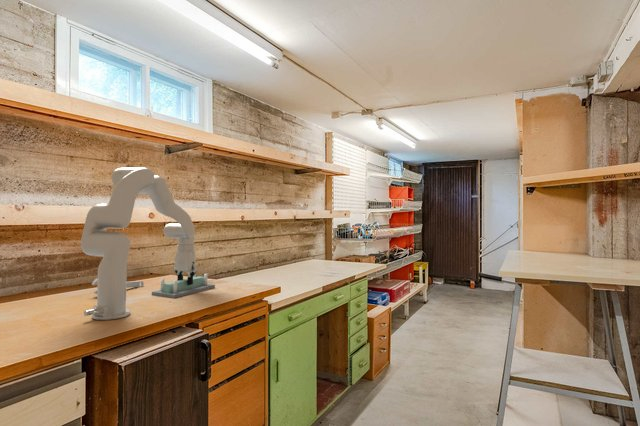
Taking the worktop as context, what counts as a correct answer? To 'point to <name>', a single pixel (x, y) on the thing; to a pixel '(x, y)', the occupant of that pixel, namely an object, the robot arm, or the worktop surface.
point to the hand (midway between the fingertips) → (185, 283)
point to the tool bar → (183, 284)
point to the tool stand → (186, 291)
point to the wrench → (128, 284)
